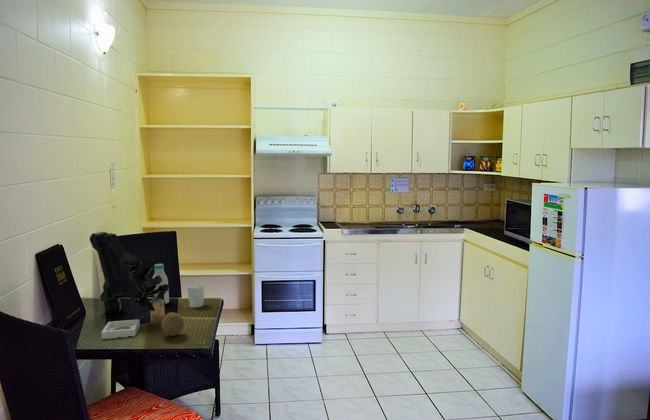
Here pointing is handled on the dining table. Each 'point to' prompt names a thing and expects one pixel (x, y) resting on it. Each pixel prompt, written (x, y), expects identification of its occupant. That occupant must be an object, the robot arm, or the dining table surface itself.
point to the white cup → (196, 295)
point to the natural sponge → (172, 323)
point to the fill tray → (120, 329)
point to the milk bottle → (160, 271)
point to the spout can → (157, 311)
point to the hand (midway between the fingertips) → (159, 308)
